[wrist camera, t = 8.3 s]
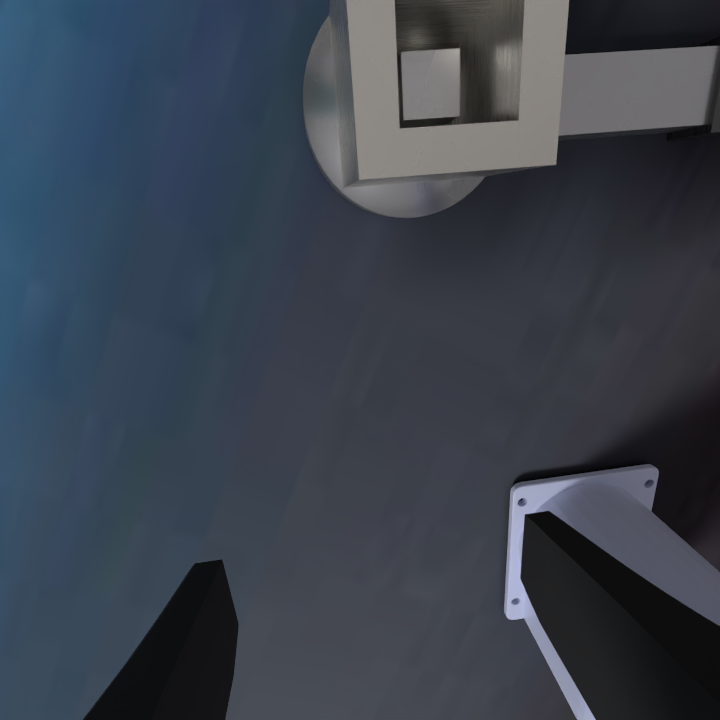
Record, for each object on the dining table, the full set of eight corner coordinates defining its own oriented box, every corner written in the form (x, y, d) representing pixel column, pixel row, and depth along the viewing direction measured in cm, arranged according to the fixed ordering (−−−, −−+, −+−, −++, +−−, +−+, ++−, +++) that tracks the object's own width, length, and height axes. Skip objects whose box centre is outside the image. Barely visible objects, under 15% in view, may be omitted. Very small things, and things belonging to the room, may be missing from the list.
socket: (478, 177, 15) (556, 165, 10) (342, 188, 14) (359, 179, 10) (481, 10, 13) (576, -97, 8) (328, 17, 13) (340, -91, 8)
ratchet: (787, 182, 18) (930, 174, 14) (315, 223, 17) (317, 230, 12) (839, -20, 16) (1031, -102, 12) (291, 6, 14) (284, -78, 10)
